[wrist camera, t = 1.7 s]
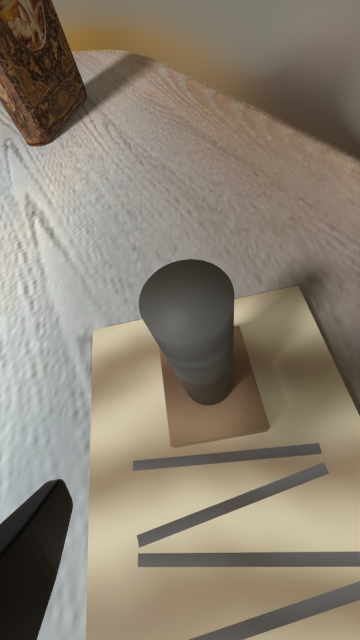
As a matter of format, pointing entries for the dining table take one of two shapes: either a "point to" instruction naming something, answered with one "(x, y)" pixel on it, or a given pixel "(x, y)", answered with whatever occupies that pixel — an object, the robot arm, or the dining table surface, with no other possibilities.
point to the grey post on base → (201, 355)
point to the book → (37, 70)
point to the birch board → (225, 495)
